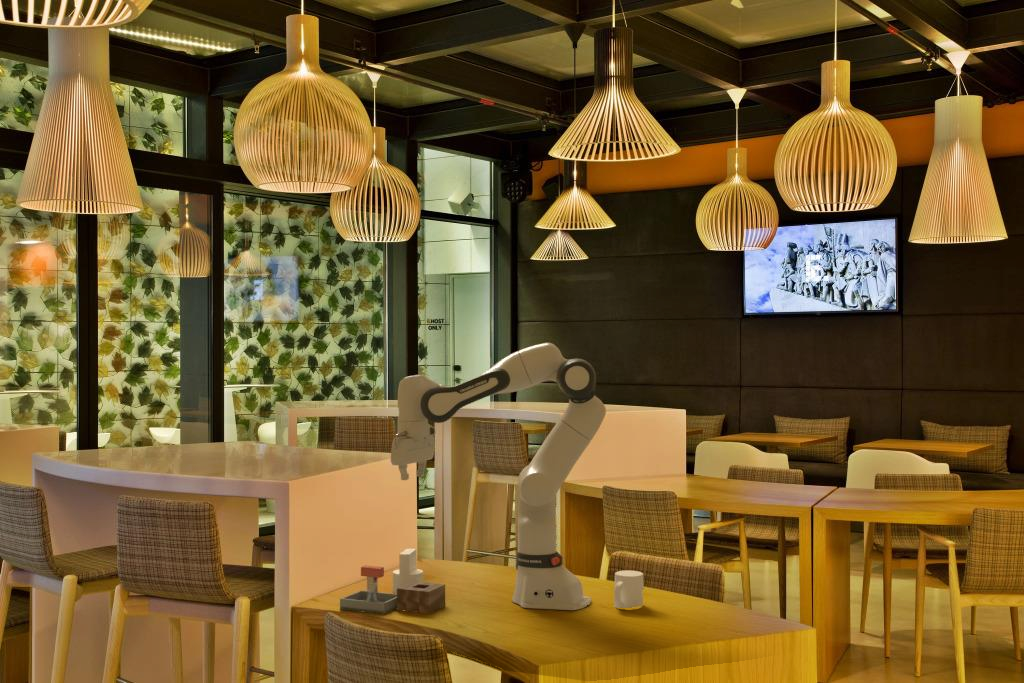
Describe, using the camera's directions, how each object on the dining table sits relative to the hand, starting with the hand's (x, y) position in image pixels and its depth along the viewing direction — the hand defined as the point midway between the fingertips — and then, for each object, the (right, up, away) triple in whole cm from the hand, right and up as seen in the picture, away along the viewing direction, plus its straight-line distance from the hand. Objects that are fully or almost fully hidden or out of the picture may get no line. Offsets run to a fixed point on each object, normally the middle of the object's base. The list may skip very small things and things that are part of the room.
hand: (412, 478), depth 306 cm
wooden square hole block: (+3, -35, -10) cm, 37 cm away
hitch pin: (-10, -34, -10) cm, 37 cm away
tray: (-10, -35, -10) cm, 38 cm away
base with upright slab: (-2, -35, +10) cm, 37 cm away
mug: (+61, -35, -10) cm, 71 cm away
